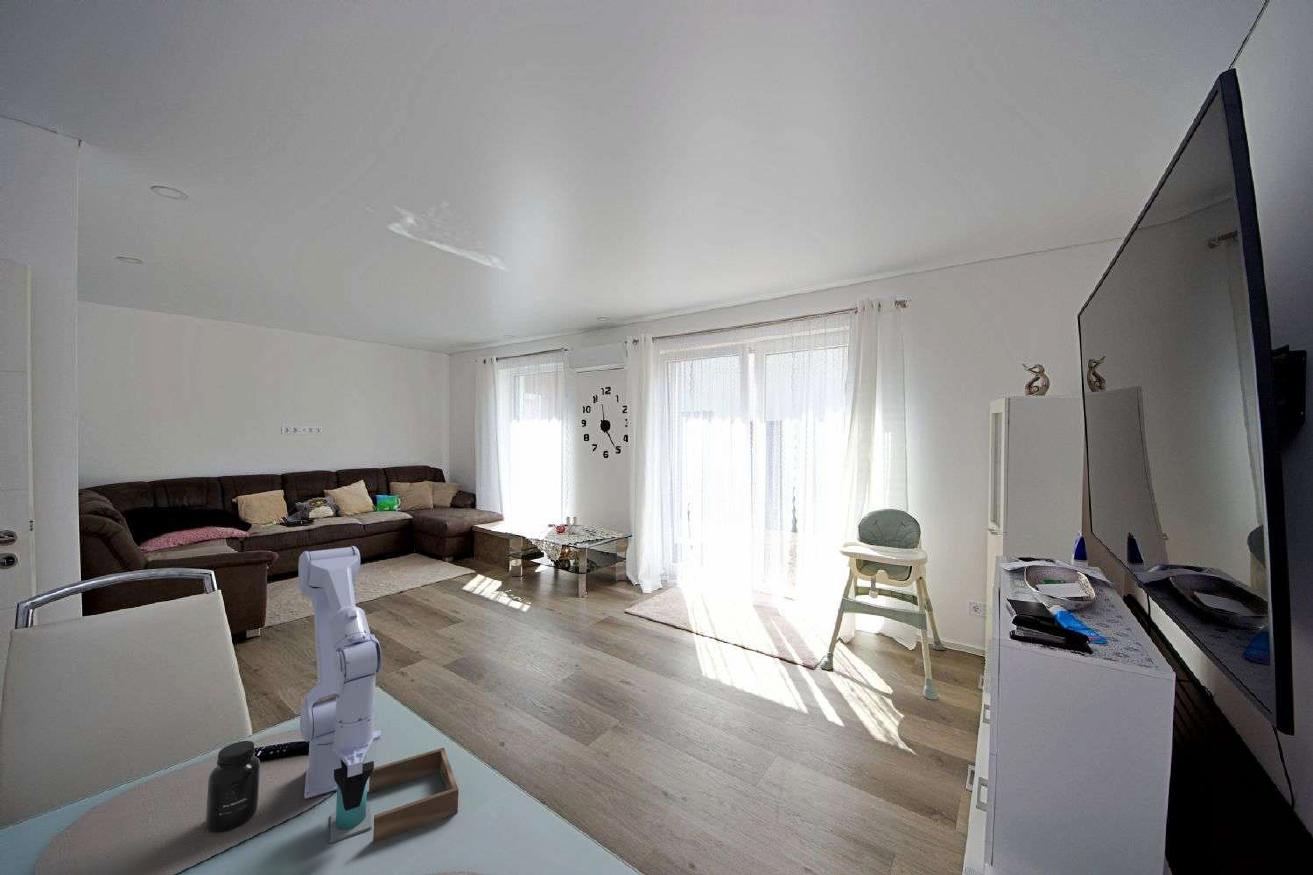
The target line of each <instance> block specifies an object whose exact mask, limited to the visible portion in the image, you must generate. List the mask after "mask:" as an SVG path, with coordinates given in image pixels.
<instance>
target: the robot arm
mask: <svg viewBox="0 0 1313 875" xmlns="http://www.w3.org/2000/svg"><path fill="white" fill-rule="evenodd" d="M298 558H299V559H298V568H297V569H298V589H299V591H300V596H303V597H307V598H310V601H311V605H312V608H313V620H314V621H313V622H314V625H313V626H314V637H315V638H314V639H315V657H316V677H317V683H316V684H315V685H314V686H313V687H312V688H311V689H310V690H309V691H308V692H307V693H306V694H305V695H304V696H303V697H302V699H301V700H302V701H301V702H300V718H299V723H300V724H299V728H300V735H301V738H302V739H303V740H304V741H305V742H306V743H307V742H309V746H308V767H307V768H306V772H305V783H304V794H303V795H304V796H303V797H304V799H306V800H307V799H309V798H313V797H316V796H320V795H323V794H326V793H330V792H333V791H337V785H338V786H339V788H340V790H341V794H342V800H343V805H344V809H345V811H347V810H350V809H354V808H357V807H359V806H360V803H361V800H362V797H363V793H364V789H365V785H366V782H367V783H368V781H369V776H370V774H371V773H372V771H373V769H374V768H375V761H374V760H372V761H368V762H365V763H363V762H364V759H365V758H366V756H367V754H368V752H369V750H370V749H371V747H372V746H373V743H374V742H377V741H380V740H381V737H382V736H381V735H382V734H381V730H379V729H378V730H374V727H375V726H374V722H375V704H376V703H375V702H376V701H375V699H376V698H375V697H376V680H377V679H376V678H377V675H376V673H377V674H379V673H380V672H381V669H382V664H383V663H382V662H383V659H382V658H383V657H382V648H381V644H380V642H379V640H378V638H376V637H375V634H371V631H370V627H369V623H368V620H367V617H366V612H365V611H364V609H362V608H360V607H358V606H356V600H355V599H356V598H355V591H354V586H353V585H354V583H355V581H356V579H357V576H358V574H359V571H360V569H361V553H360V550H359V549H358V548H357V547H356V546H355V545H350V546H348V547H338V548H329V549H321V550H313V551H308V550H305V551H303V552H302V553H300V555H299V557H298ZM334 695H336V696H334ZM330 696H334V697H330ZM328 697H330V698H328ZM324 698H328V699H324ZM320 699H324V700H321V701H318V700H320Z"/></svg>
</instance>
